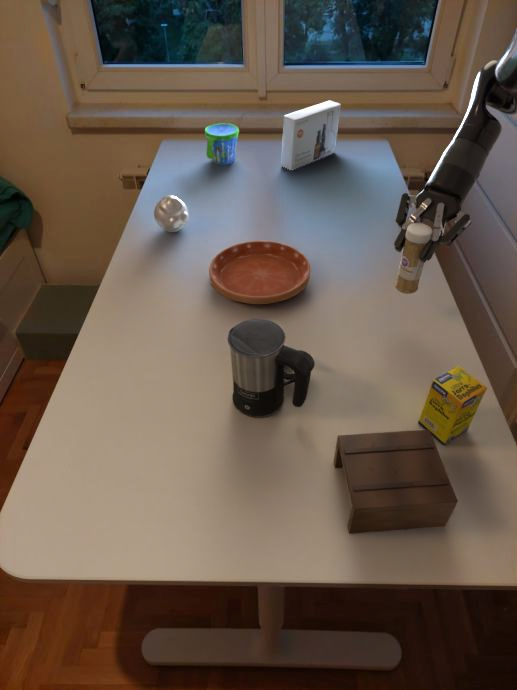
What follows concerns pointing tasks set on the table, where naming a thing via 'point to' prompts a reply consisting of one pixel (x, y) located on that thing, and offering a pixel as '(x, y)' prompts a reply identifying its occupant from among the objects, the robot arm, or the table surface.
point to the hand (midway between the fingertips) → (409, 255)
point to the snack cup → (222, 142)
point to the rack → (394, 481)
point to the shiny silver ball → (171, 214)
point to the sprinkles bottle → (412, 257)
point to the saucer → (259, 272)
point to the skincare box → (309, 134)
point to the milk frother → (265, 368)
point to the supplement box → (451, 404)
